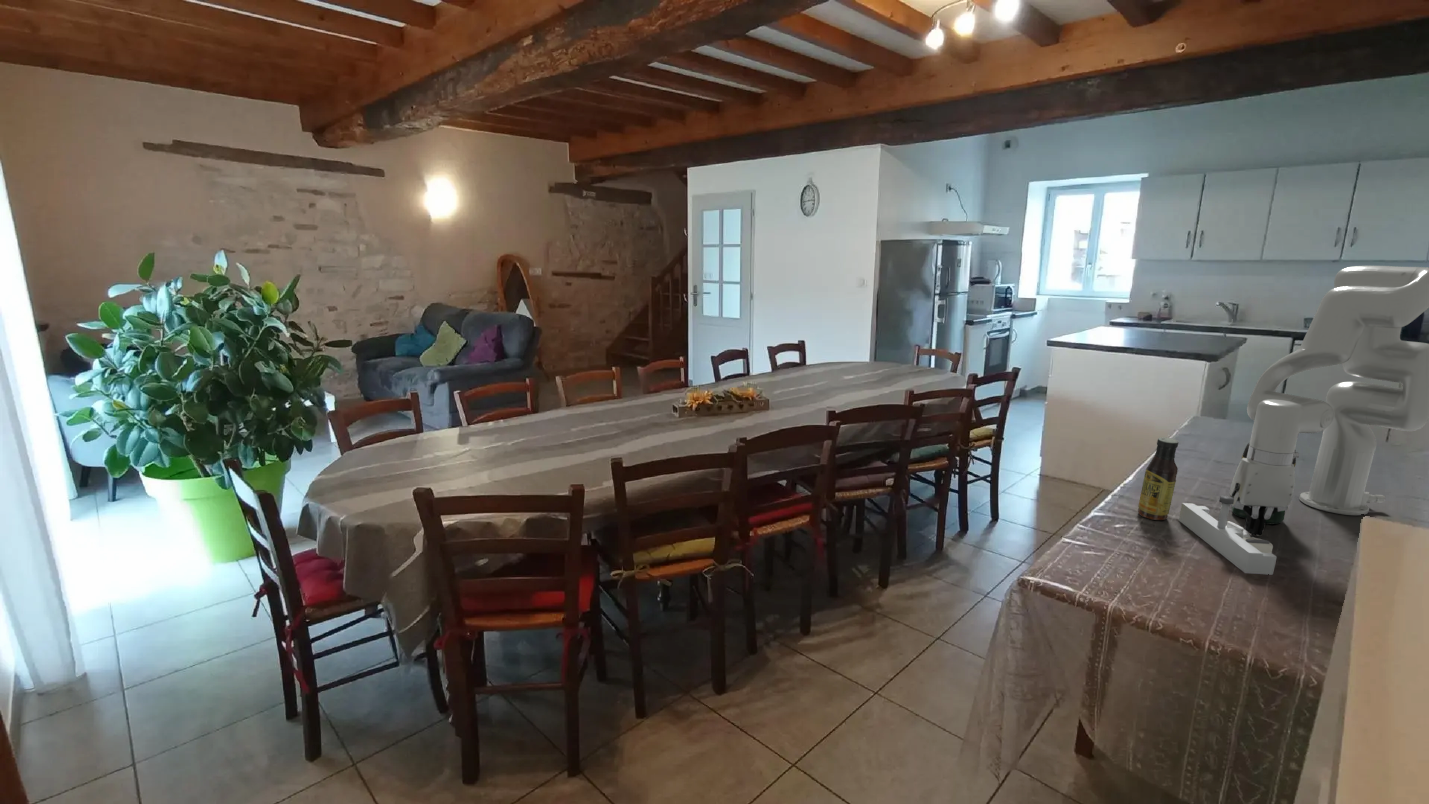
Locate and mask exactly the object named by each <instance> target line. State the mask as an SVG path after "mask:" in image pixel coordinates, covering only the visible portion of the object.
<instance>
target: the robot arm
mask: <svg viewBox="0 0 1429 804" xmlns="http://www.w3.org/2000/svg"><path fill="white" fill-rule="evenodd" d="M1333 286H1334V288H1332V289H1329V291H1327V292H1326V293H1325V294H1324V296H1323V297H1322V299H1321V301H1320V302H1319V306H1318V307H1317V310H1316V313H1315V314H1314V315H1313V318H1312V320H1311V323H1310V324H1309V327H1308V329H1307V332H1306V333H1305V336H1304V338H1303V340H1302V342H1301V345H1300V346H1299V347H1298V348H1297V349H1296V350H1295V351H1292V352H1291V353H1288V354H1287V355H1285V356H1283V357H1281V358H1280V359H1278V360H1276V361H1275V362H1274V363H1272V364H1271V365H1270V366H1269V367H1268V368H1266V370H1265V371H1263V373H1262V374H1261V375H1260V376H1259V378H1258V379H1257V382H1256V383H1255V386H1254V387H1253V390H1252V393H1251V394H1250V396H1249V399H1248V402H1247V405H1246V412H1247V416H1248V417H1249V418H1250V419H1251V420H1252V421H1253V425H1252V431H1251V436H1250V441H1249V443H1250V445H1249V449H1248V454H1247V458H1242V457H1241V460H1240V462H1239V464H1238V466H1237V468H1236V470H1235V473H1234V474H1233V475H1234V476H1233V478H1232V481H1231V485H1230V489H1229V497H1232V498H1234V503H1233V504H1230V506H1231V507H1232V506H1233V507H1234V508H1237V509H1241V510H1243V511H1244V512H1245V513H1246V514H1247V517H1246V519H1245V523H1244V529H1245V530H1246V531H1247V532H1248V533H1249V534H1250V535H1252V536H1261V537H1262V536H1263V532H1264V530H1265V527H1266V524H1267V523H1266V519H1269V518H1270V517H1271V515H1272V514H1274V513H1275V512H1277V511H1285V512H1286V511H1287V510H1288V509H1289V505H1290V504H1291V502H1292V500H1293V495H1294V491H1295V490H1294V489H1295V482H1296V481H1295V479H1296V473H1295V471H1296V470H1295V469H1296V468H1295V467H1294V465H1293V464H1292V462H1293V458H1296V459H1298V458H1299V457H1300V453H1299V452H1298V451H1296V452H1295V450H1296V446H1297V441H1298V438H1299V434H1317V433H1320V432H1322V431H1323V432H1322V437H1321V442H1320V444H1319V448H1318V453H1317V457H1316V462H1315V466H1314V468H1313V469H1314V470H1313V474H1312V479H1311V481H1310V482H1311V483H1310V487H1309V491H1305V492H1304V491H1303V492H1301V493H1300V494H1299V500H1300V501H1301V503H1303V504H1305V505H1307V506H1308V507H1312V508H1314V509H1317V510H1320V511H1324V512H1329V513H1333V514H1339V515H1345V516H1362V515H1361V514H1364V515H1367V514H1368V513H1369V511H1370V507H1369V505H1367V504H1370V503H1378V504H1379V503H1380V504H1382V503H1385V502H1386V496H1385V495H1383V494H1371V492H1369V491H1365V490H1366V486H1367V483H1368V479H1369V474H1370V471H1371V467H1372V465H1373V464H1372V463H1373V461H1374V460H1373V459H1374V455H1375V452H1376V449H1377V439H1376V436H1375V433H1374V432H1373V430H1372V429H1371V427H1370V426H1375V427H1381V428H1387V429H1393V430H1397V431H1405V432H1414V431H1415V432H1416V431H1418V430H1421V429H1422V428H1424V426H1426V424H1427V422H1428V421H1429V343H1426V342H1420V341H1419V342H1418V341H1407V340H1402V339H1401V332H1402V328H1404V327H1405V326H1408V325H1409V324H1410V323H1412V322H1414V320H1417V318H1419V316H1420V315H1422V314H1423V313H1424V312H1426V310H1428V309H1429V267H1427V266H1425V267H1424V266H1396V265H1395V266H1394V265H1393V266H1391V265H1354V266H1348V267H1345V268H1342V269H1340V270H1339V271H1338V272H1337V273H1336V274H1335V277H1334V280H1333ZM1341 364H1342V370H1343V371H1344V372H1345V373H1346V374H1347V375H1351V376H1353V377H1358V378H1362V379H1370V380H1376V381H1382V382H1383V381H1384V382H1390V383H1391V382H1392V383H1397V384H1400V385H1401V387H1394V386H1388V385H1384V384H1376V383H1370V382H1363V381H1342V382H1338V383H1335V384H1334V385H1332V386H1331V387H1329V389H1328V391H1327V393H1326V396H1325V401H1324V400H1321V399H1318V398H1311V397H1305V396H1300V395H1295V394H1289V393H1283V392H1278V391H1277V389H1278V388H1279V387H1280V385H1281V384H1282V383H1283V382H1284V381H1285V380H1287V379H1289V378H1290V377H1293V376H1294V375H1296V374H1299V373H1303V372H1306V371H1311V370H1314V369H1321V368H1326V367H1331V366H1337V365H1341Z"/></svg>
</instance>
